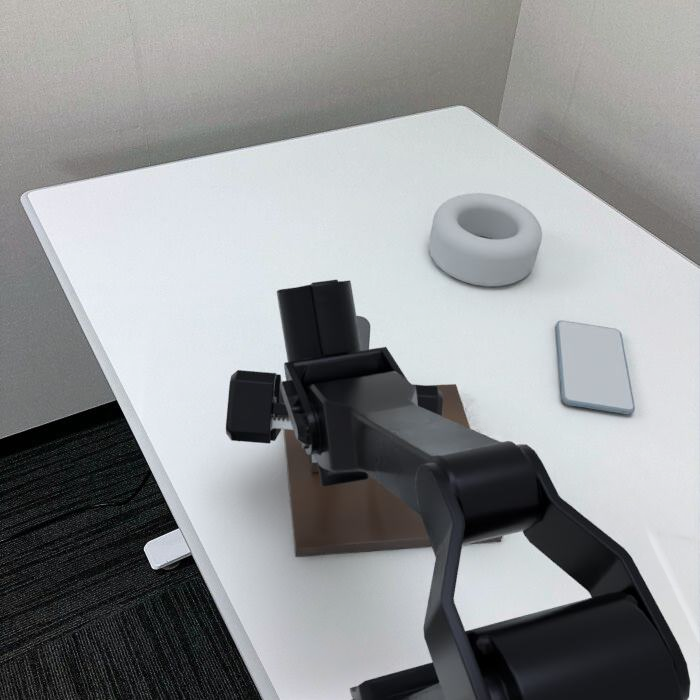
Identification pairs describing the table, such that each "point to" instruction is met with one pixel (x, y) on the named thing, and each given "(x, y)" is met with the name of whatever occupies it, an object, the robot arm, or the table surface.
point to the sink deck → (354, 504)
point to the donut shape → (485, 239)
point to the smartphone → (593, 367)
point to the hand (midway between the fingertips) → (334, 409)
